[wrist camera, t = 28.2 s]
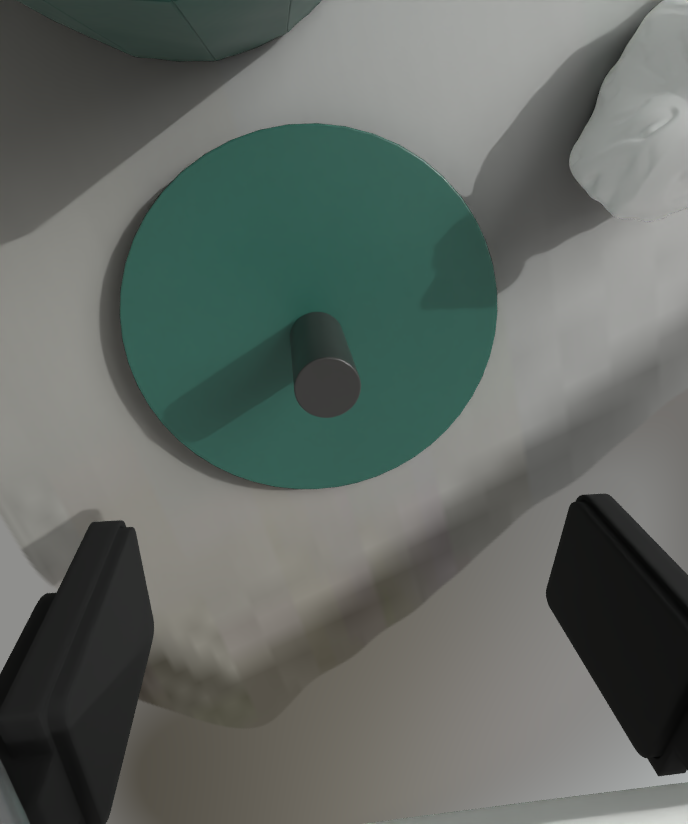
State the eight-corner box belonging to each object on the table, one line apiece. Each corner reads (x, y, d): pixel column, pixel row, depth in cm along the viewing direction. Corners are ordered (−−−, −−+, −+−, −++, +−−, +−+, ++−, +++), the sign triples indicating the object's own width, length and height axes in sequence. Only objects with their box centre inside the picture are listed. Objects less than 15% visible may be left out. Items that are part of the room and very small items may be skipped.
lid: (91, 116, 19) (11, 105, 13) (517, 131, 21) (610, 127, 15) (155, 483, 27) (122, 579, 21) (463, 469, 29) (510, 553, 23)
